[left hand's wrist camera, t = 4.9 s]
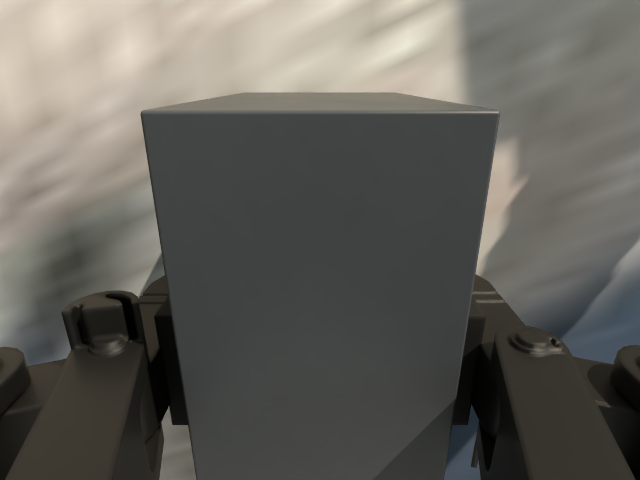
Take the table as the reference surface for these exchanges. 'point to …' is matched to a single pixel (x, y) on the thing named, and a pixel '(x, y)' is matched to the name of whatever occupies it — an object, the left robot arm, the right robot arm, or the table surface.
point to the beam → (320, 276)
